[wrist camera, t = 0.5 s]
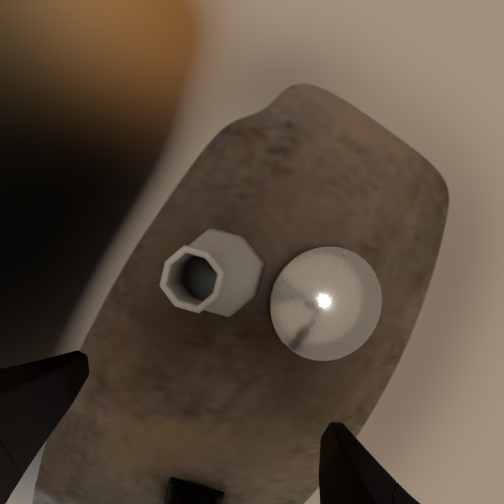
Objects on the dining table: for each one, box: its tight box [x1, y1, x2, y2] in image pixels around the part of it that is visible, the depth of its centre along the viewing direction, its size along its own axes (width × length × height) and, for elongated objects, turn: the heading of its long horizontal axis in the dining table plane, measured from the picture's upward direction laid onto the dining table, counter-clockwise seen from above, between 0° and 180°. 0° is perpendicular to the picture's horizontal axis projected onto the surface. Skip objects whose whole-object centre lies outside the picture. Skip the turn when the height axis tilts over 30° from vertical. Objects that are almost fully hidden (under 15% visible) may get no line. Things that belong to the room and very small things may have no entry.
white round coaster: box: [270, 247, 382, 361], centre depth 22 cm, size 9×9×2 cm
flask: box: [160, 228, 265, 317], centre depth 18 cm, size 7×7×10 cm
